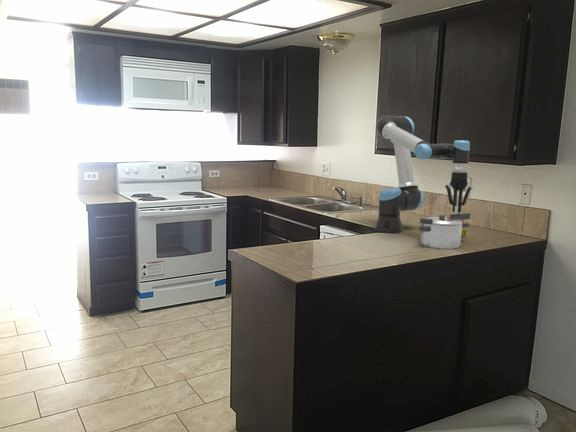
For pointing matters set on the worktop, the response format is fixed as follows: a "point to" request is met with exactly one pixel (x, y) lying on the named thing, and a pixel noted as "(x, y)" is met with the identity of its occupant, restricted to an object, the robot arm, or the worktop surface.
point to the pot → (441, 235)
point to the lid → (446, 219)
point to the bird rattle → (463, 230)
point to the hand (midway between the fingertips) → (456, 218)
